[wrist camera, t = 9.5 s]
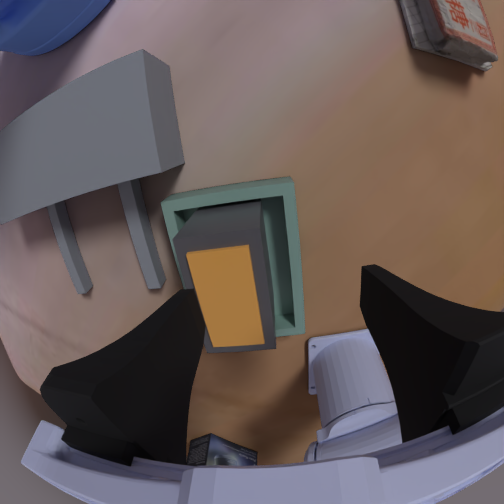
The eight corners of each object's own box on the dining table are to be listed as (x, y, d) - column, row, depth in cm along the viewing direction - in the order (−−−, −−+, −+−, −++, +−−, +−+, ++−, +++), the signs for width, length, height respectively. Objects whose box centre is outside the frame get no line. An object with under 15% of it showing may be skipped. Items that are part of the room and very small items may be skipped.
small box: (260, 451, 38) (258, 501, 28) (235, 458, 40) (231, 505, 30) (211, 431, 35) (203, 489, 25) (189, 440, 37) (178, 490, 27)
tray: (302, 315, 24) (305, 333, 22) (205, 324, 25) (201, 341, 23) (290, 176, 19) (293, 182, 17) (171, 194, 20) (160, 202, 18)
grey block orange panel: (274, 295, 23) (277, 357, 16) (222, 300, 23) (208, 361, 17) (260, 196, 20) (259, 230, 13) (200, 204, 20) (170, 241, 13)
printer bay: (209, 275, 23) (196, 309, 18) (61, 287, 25) (36, 312, 20) (169, 65, 16) (142, 49, 11) (18, 137, 18) (-16, 144, 13)
